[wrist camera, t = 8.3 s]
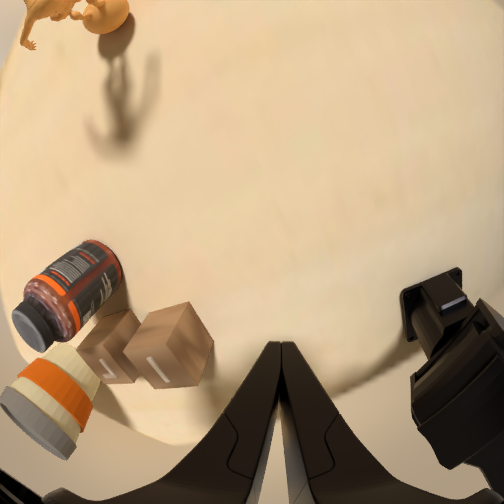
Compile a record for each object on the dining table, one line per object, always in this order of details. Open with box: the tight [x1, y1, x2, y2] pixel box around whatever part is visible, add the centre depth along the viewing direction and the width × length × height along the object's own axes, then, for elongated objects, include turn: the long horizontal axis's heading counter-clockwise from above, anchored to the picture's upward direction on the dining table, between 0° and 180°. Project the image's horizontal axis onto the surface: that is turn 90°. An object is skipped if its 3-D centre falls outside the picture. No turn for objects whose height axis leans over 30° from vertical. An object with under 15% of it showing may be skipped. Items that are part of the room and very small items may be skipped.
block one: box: [123, 302, 214, 389], centre depth 23 cm, size 5×5×6 cm
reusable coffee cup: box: [0, 343, 101, 460], centre depth 26 cm, size 13×13×15 cm
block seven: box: [76, 309, 141, 384], centre depth 25 cm, size 5×5×6 cm
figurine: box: [20, 0, 129, 50], centre depth 9 cm, size 8×6×12 cm
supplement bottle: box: [12, 240, 121, 353], centre depth 19 cm, size 6×6×11 cm
